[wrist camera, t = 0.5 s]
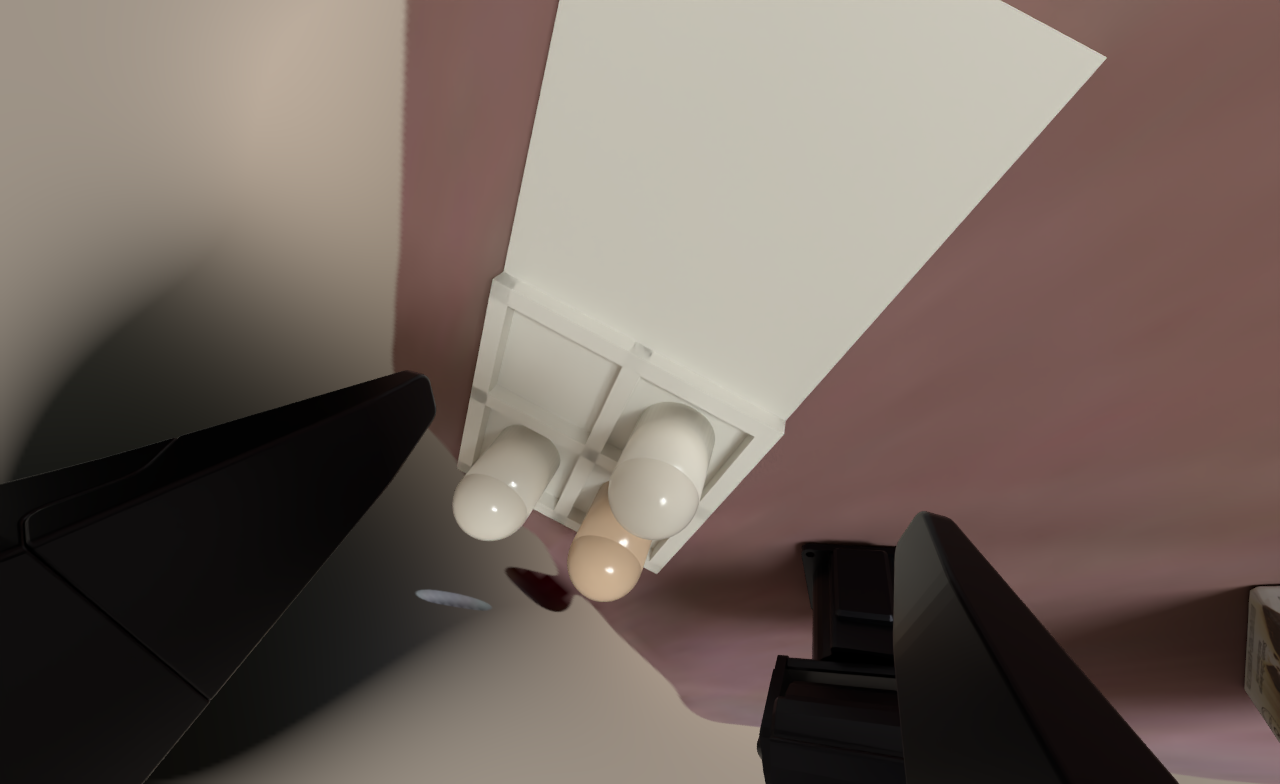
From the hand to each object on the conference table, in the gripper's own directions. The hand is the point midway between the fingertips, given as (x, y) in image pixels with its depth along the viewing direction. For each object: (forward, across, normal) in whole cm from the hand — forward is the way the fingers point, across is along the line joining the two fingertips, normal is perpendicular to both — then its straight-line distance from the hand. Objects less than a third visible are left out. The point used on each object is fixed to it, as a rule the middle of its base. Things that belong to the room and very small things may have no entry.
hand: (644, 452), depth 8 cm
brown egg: (+13, +4, +18) cm, 23 cm away
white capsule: (+13, +11, +16) cm, 23 cm away
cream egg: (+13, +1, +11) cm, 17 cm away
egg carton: (+14, +4, +6) cm, 15 cm away
